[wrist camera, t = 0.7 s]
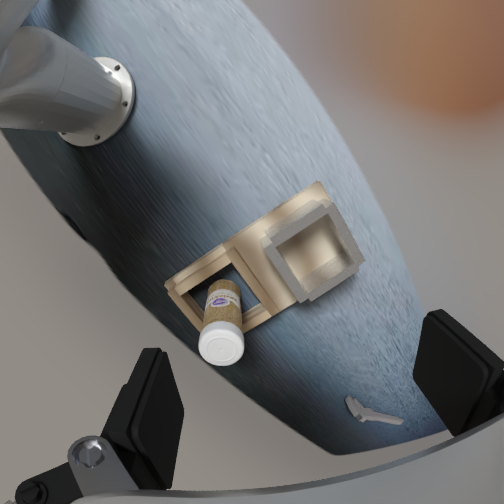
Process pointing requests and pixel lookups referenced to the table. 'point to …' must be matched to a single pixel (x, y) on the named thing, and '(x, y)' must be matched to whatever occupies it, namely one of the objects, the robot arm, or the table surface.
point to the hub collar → (329, 271)
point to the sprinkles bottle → (222, 325)
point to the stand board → (260, 262)
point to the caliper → (369, 413)
